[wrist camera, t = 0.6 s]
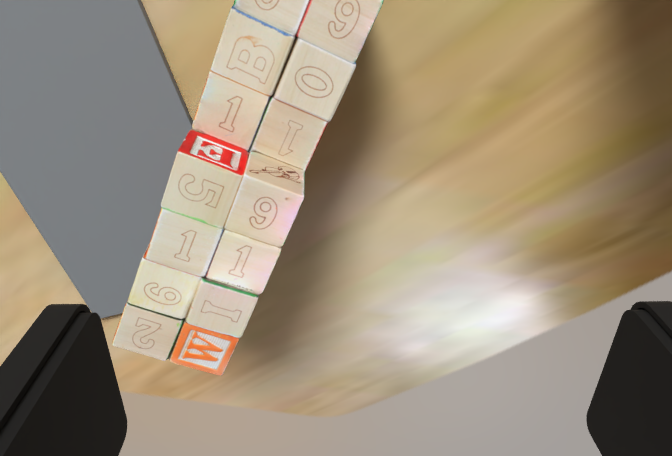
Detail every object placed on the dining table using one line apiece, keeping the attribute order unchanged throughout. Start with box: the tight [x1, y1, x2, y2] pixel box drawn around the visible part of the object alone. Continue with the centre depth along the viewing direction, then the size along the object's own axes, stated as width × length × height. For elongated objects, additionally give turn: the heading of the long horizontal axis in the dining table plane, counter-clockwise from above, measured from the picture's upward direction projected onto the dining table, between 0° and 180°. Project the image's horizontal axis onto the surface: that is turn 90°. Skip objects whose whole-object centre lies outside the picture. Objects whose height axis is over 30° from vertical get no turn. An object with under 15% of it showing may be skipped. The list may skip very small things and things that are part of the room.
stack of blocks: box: [112, 0, 384, 375], centre depth 29 cm, size 21×6×12 cm, turn 155°
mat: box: [0, 0, 193, 318], centre depth 36 cm, size 14×24×1 cm, turn 16°
